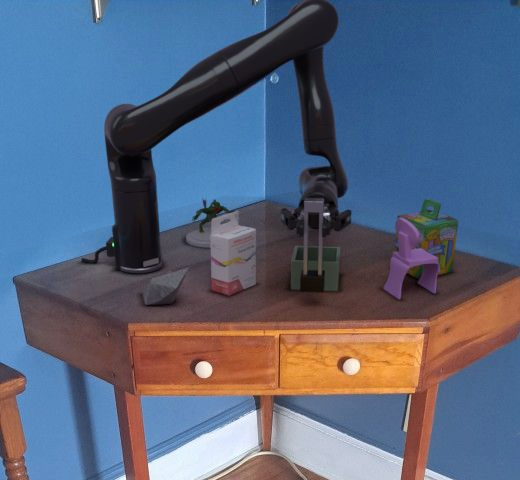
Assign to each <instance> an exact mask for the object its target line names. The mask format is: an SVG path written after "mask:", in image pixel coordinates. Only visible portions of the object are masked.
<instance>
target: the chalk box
mask: <svg viewBox="0 0 520 480" xmlns="http://www.w3.org/2000/svg"><path fill="white" fill-rule="evenodd" d="M441 206H442V204H441V202H439V201H435V200H432V199H429V198H425V199H424V200H423V203H422V206H421V210H419V211H414V212H409V213H404V214H399V215H397V217H396V218H397V219H398V218H401V217H402V218H404V219H406V220H408V221H409V222H410V223H412V224H413V225H414V226H415V228H416V229H417V230H418V232H419V236H420V239H419V245H418V246H417V247H415V248H413V249H418V248H422V249H423V250H425V251H426V252H428V253H429V254H431V255H434V256H436V257H437V258H438V263H439V270H438V275H437V277H438V276H441V275H446V274H450V273H452V272H453V267H454V266H453V265H454V258H455V250H456V243H457V236H458V235H457V234H458V229H459V228H458V227H459V220H458V219H457V218H455V217H452V216H450V215H446V214H444V213H441V212H440V210H441ZM428 207H432V208H433V210H432V209H428ZM397 219H396V220H397ZM393 248H394V250H393V252H397V251H399V243H398V233H397V232H396V231H395V240H394V247H393ZM413 249H412V250H413ZM423 270H424V265H423V264H421V265H418V266H413V267H411V268H410V269H409V270H408V271H407V273H406V275H409V276H411V277H413V278H416V280H418V281H419V280H420V278H421V276H422V273H423Z"/></svg>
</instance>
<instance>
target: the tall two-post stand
mask: <svg viewBox="0 0 520 480" xmlns="http://www.w3.org/2000/svg"><path fill="white" fill-rule="evenodd" d="M309 212H315V213H319V230H318V245H317V246H318V270H308V246H309V229H310V228H309ZM323 220H324V198H305V201H304V236H303V246H304V260H303V270H302V271H301V276H300V290H299V292H301V293H303V292H304V293H325V291H324V287H325V271H323V270H322V260H323V247H324V237H322V225H323Z"/></svg>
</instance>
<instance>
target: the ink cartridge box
mask: <svg viewBox="0 0 520 480" xmlns="http://www.w3.org/2000/svg"><path fill="white" fill-rule="evenodd" d="M234 211H235V212H232V213H225V214H222V215H220V216H216V217H217V218H213V219H212V221H210V228H211V235H210V244H211V248H210V272H211V273H210V274H211V276H210V277H211V291H212V292H215V293H218V294H221V295H225V296H228V297H230V296H233V295H234V294H237V293H239V292H241V291H244V290H246V289H248V288H252V287H253V286H256V285H257V229H256V228H253V227H249V226H244V225H240V224H239V223H240V222H239V219H240V210H234ZM225 220H229V222H225V223H222V222H224V221H225ZM220 223H221V224H220Z"/></svg>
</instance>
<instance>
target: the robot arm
mask: <svg viewBox="0 0 520 480" xmlns="http://www.w3.org/2000/svg"><path fill="white" fill-rule="evenodd" d="M339 19H340V18H339V14H338V10H337V9H336V7H335V6H334V5H333V4H332V3H331V2H330V1H328V0H301V1H298V2H297V3H295V4H294V5H293V6H292V7H291V8H290V9H289V10H288V11H287V14H286V16H285V17H283V18H282V19H280V20H279V21H277V22H276V23H275V24H273V25H271V26H269V27H268V28H266V29H264V30H262V31H260V32H258V33H254V34H252V35H250V36H247V37H245V38H243V39H240V40H238V41H235V42H233V43H231V44H229V45H226V46H225V47H222V48H221V49H219V50H217V51H215V52H214V53H212V54H210V55H209V56H206V57H205V58H203V59H202V60H200V61H198V62H197V63H196V64H194V66H192V67H191V68H189V69H188V71H186V72H184V74H183V75H182V76H181V77H180V78H179V79H178V80H177V81H176V82H174V84H173V85H172V86H170V87H169V88H168V89H167V90H166V91H164V92H163V93H161V94H159V95H157V96H156V97H154V98H152V99H150V100H148V101H146V102H144V103H141V104H140V105H135V104H132V103H121V104H117V105H116V106H114V107H112V108H111V109H110V111H108V114H106V117H105V120H104V123H103V125H104V126H103V131H104V132H103V133H104V142H105V153H106V162H107V169H108V175H109V178H110V187H111V199H112V206H113V207H112V209H113V220H114V224H113V225H112V227H111V232H112V236H110V238H109V239H108V240H107V241H106V242H105V246H102V247H100V248H98V249H97V250H96V251H95V252H94V259H89V258H85V257H81V262H82V263H86V264H91V265H92V264H96V263H97V262H99V259H100V254H101V253H102V252H105V251H106V257H107V258H114V264H115V270H116V271H121V272H124V273H126V274H127V273H128V274H147V273H152V272H155V271H158V270H160V269H161V268H162V267H163V258H162V245H161V231H160V217H159V216H160V214H159V200H158V188H157V187H158V185H157V184H158V183H157V174H156V170H155V165H154V161H153V153H152V149H154V148H155V147H157V146H158V145H159V144H161V143H162V142H163V141H165V140H166V139H167V138H168V137H170V136H171V135H172V134H174V133H175V132H177V131H178V130H179V129H181V128H182V127H184V126H186V125H188V124H189V123H191V122H193V121H195V120H198V119H199V118H201V117H203V116H205V115H207V114H208V113H210V112H212V111H214V110H216V109H218V108H220V107H221V106H223V105H225V104H227V103H228V102H230V101H232V100H233V99H236V98H237V97H239V96H240V95H242V94H243V93H245V92H247V91H248V90H250V89H251V88H252V87H254V86H256V85H257V84H259V83H260V82H262V80H265V79H266V78H267V77H268V76H270V75H271V74H273V73H274V72H275V71H277V70H278V69H279V68H280V67H282V66H284V65H285V64H288V63H289V62H291V61H292V64H293V68H294V74H295V79H296V86H297V93H298V100H299V101H298V102H299V109H300V111H299V112H300V122H301V135H302V145H303V151H304V153H305V155H308V156H313V157H321V158H324V159H325V160H326V161H327V162H328V164H329V165H320V166H309V167H306V168H304V169H302V171H301V172H300V173H299V175H298V180H297V184H298V190H299V193H300V198H299V202H298V206H297V207H295V208H294V210H293V211H292V210H291V209H288V208H286V207H283V208H281V209H280V222H281V224H282V225H284V227H286V229H287V230H289V231H294V230H295V234H296V235H298V237H299V238H304V201H305V198H324V220H323V225H322V237H323V238H327V236H330V235H331V232H332V230H334V232H338V233H339V232H342V231H343V230H344V229H345V228H347V227H349V225H351V224H352V209H345V210H344V211H343V210H342V211H339V209H338V208H339V199H340V198H341V199H342V198H343V197H344V196H345V195H346V193H347V191H348V188H349V179H348V175H347V173H346V170H345V168H344V164H343V162H342V159H341V156H340V153H339V148H338V142H337V130H336V119H335V117H336V116H335V111H334V105H333V103H332V98H331V94H330V90H329V87H328V84H327V79H326V73H325V66H324V65H325V64H324V50H325V49H324V47H325V46H327V44H329V43H330V42H331V41H332V40H333V38H334V37H335V35H336V34H337V31H338V28H339V21H340V20H339ZM309 229H311V230H317V231H319V213H315V212H309Z"/></svg>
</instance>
